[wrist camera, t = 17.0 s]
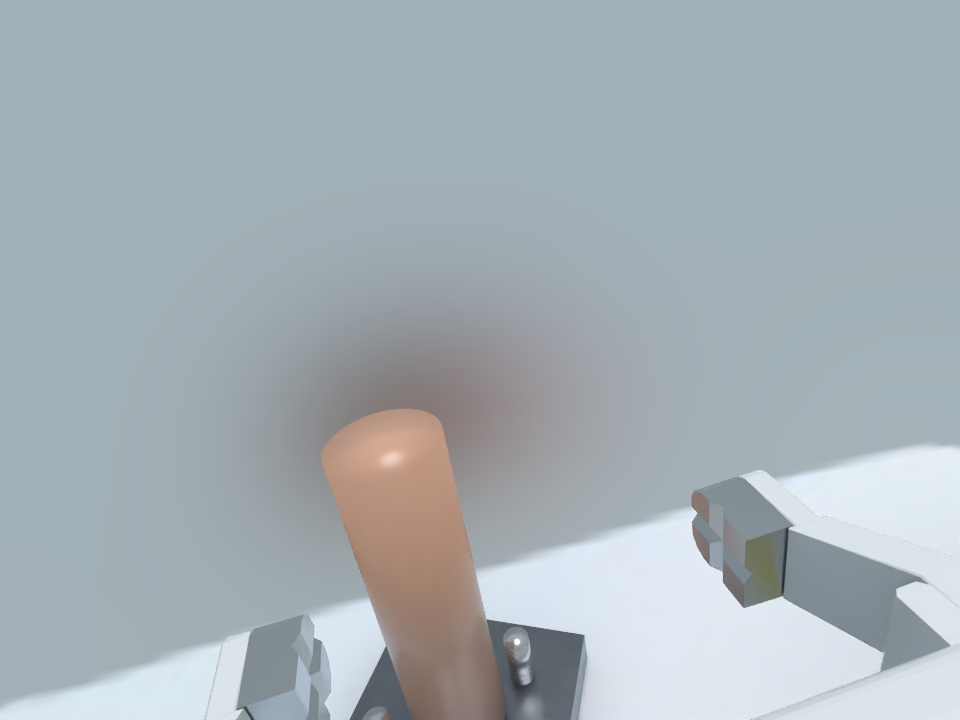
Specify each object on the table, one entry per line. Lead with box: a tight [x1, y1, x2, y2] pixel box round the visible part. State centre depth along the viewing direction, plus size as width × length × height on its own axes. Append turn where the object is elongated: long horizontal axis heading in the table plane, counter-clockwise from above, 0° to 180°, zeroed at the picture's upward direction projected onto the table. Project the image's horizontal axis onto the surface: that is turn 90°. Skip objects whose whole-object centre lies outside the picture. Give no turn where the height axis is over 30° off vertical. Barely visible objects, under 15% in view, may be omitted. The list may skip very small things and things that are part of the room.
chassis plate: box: [350, 620, 587, 720], centre depth 30 cm, size 12×12×5 cm
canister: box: [321, 409, 506, 720], centre depth 27 cm, size 5×5×18 cm
